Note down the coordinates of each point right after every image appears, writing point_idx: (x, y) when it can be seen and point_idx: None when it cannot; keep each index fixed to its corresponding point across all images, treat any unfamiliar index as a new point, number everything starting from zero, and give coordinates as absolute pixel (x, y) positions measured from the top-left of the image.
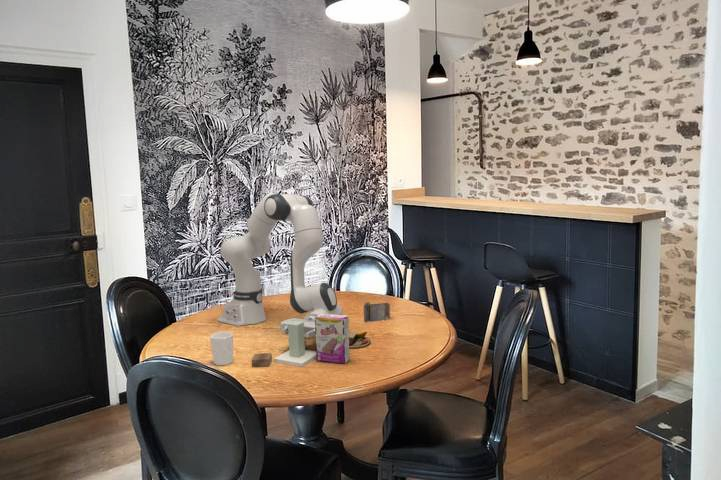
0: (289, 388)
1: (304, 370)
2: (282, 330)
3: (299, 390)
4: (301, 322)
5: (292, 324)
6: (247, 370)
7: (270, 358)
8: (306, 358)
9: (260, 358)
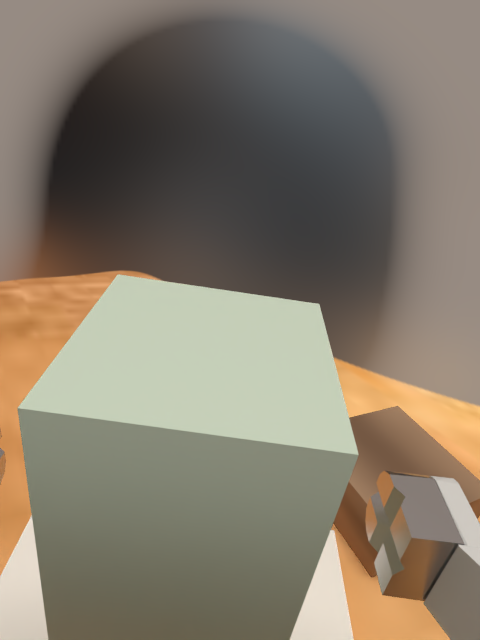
0: (59, 310)
1: (16, 461)
2: (446, 478)
3: (9, 302)
4: (82, 383)
5: (227, 294)
6: (364, 407)
7: (343, 497)
8: (20, 621)
9: (368, 429)
